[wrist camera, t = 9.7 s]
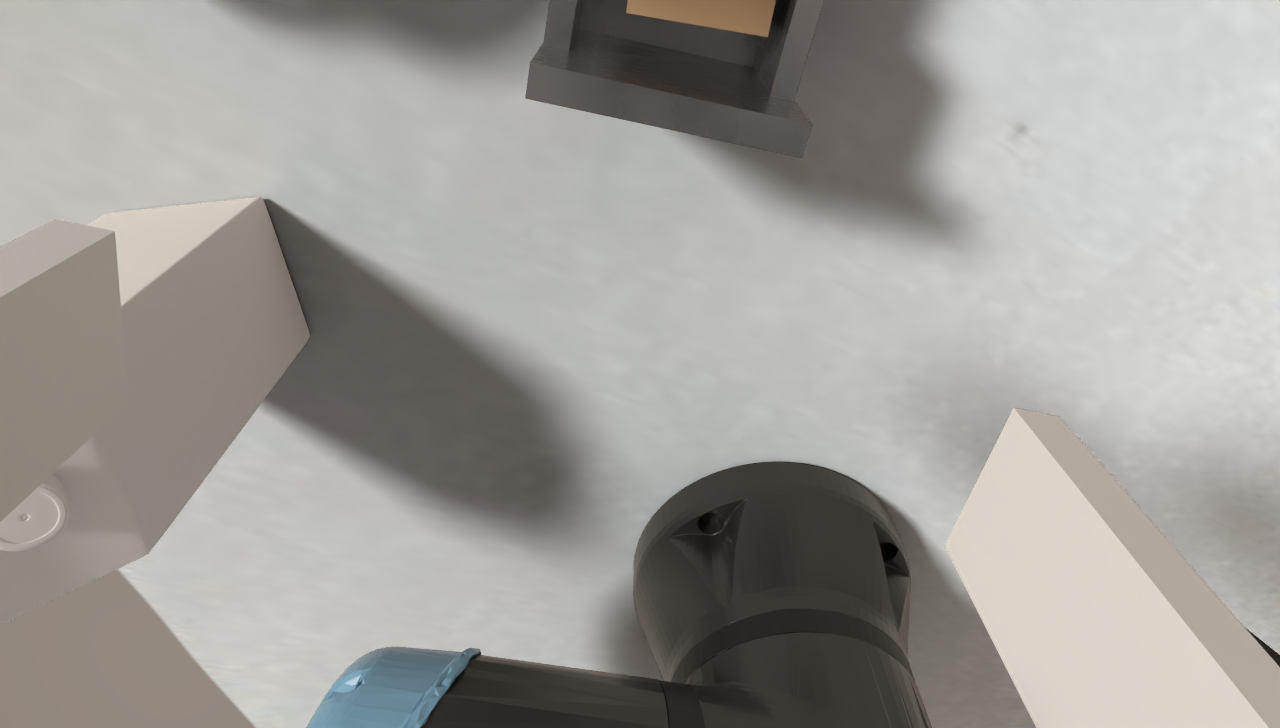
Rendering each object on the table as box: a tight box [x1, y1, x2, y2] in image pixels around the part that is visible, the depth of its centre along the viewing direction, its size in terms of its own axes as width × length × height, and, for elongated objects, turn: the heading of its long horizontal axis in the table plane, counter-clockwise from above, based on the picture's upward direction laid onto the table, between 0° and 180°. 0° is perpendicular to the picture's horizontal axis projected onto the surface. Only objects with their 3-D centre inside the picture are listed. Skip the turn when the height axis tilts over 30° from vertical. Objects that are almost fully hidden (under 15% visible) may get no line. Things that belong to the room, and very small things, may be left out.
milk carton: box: [0, 197, 310, 625], centre depth 30 cm, size 7×7×19 cm
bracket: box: [525, 0, 824, 158], centre depth 27 cm, size 5×8×11 cm, turn 78°
